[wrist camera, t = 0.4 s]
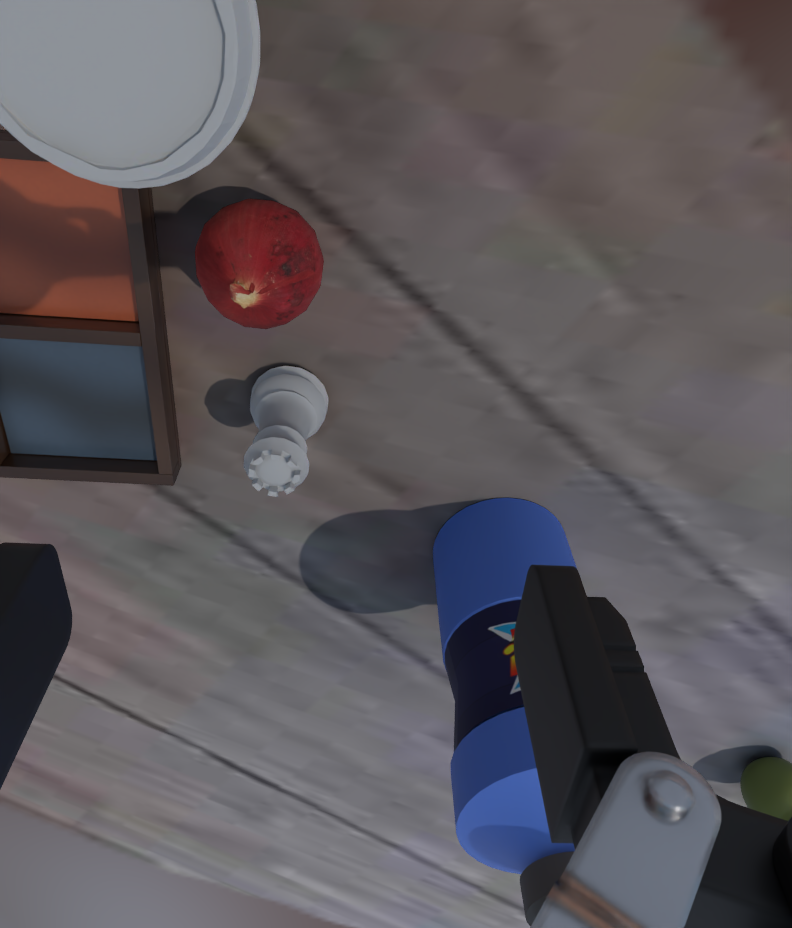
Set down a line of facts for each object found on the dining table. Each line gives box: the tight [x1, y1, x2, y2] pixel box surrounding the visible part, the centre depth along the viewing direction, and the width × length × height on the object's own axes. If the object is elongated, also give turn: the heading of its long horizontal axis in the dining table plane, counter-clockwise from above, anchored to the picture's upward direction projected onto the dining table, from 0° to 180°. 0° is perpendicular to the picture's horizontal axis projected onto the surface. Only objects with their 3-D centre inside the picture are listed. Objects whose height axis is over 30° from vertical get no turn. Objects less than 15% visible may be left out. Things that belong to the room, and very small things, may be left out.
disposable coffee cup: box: [0, 0, 260, 188], centre depth 26 cm, size 10×10×12 cm
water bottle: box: [433, 498, 577, 926], centre depth 38 cm, size 9×9×25 cm
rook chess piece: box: [244, 366, 329, 497], centre depth 39 cm, size 4×4×8 cm
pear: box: [741, 757, 792, 821], centre depth 59 cm, size 6×5×10 cm
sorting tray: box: [0, 130, 181, 486], centre depth 38 cm, size 19×11×2 cm, turn 176°
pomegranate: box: [195, 199, 324, 329], centre depth 33 cm, size 6×6×8 cm
